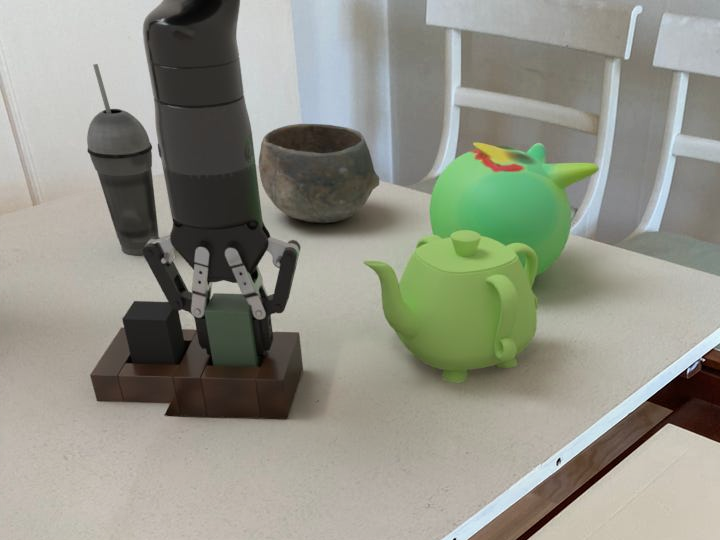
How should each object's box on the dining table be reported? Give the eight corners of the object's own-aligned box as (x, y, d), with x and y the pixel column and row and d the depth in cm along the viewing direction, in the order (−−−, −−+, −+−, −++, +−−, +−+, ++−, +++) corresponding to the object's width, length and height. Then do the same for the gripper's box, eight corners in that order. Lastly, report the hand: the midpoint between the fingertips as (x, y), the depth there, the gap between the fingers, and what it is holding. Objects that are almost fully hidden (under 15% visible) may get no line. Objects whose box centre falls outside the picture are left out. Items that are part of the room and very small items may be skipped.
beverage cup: (139, 264, 117) (100, 76, 104) (97, 251, 120) (53, 66, 107) (183, 245, 122) (151, 64, 108) (141, 233, 125) (104, 55, 111)
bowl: (263, 201, 135) (254, 122, 128) (374, 197, 137) (371, 119, 130) (265, 238, 125) (255, 154, 118) (385, 233, 127) (382, 150, 120)
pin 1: (140, 399, 93) (121, 319, 88) (151, 379, 96) (134, 300, 90) (182, 400, 93) (166, 320, 88) (192, 380, 96) (177, 301, 91)
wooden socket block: (100, 414, 91) (89, 374, 88) (130, 364, 98) (121, 327, 95) (287, 419, 91) (283, 380, 88) (303, 369, 98) (299, 332, 96)
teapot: (505, 409, 93) (512, 279, 85) (368, 384, 96) (361, 256, 88) (547, 339, 105) (557, 218, 96) (423, 318, 108) (422, 199, 99)
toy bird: (410, 256, 121) (407, 127, 111) (532, 240, 126) (540, 115, 116) (466, 313, 109) (468, 174, 99) (598, 293, 114) (613, 159, 104)
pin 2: (217, 392, 92) (203, 311, 87) (226, 372, 95) (213, 292, 90) (259, 393, 92) (248, 312, 87) (267, 373, 95) (256, 294, 90)
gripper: (301, 146, 83) (318, 337, 95) (134, 141, 83) (172, 332, 94) (287, 174, 77) (307, 373, 89) (108, 168, 77) (151, 368, 89)
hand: (237, 351), depth 92 cm, fingers closed on pin 2, 4 cm apart
